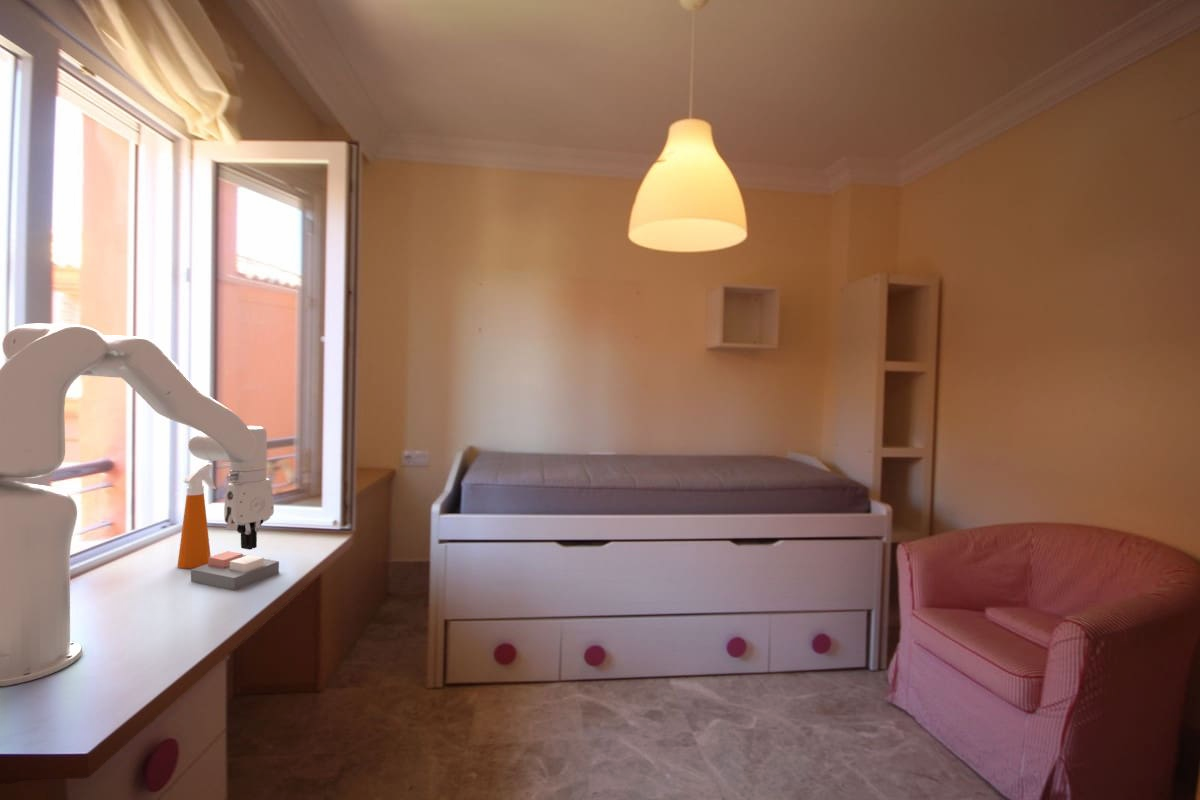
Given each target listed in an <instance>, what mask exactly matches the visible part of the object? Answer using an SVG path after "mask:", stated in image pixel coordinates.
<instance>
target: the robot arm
mask: <svg viewBox="0 0 1200 800" xmlns="http://www.w3.org/2000/svg"><path fill="white" fill-rule="evenodd" d="M1 349H2V351H3V352H2V353H3V354H4V355H5V357H6V358H7V359H8V360H7V361H6V362H5V363H4V364H3V366H2V367H0V687H5V686H12V685H18V684H21V683H27V682H31V681H34V680H37V679H41V678H43V677H47V676H49V675H52V674H54V673H56V672H59V671H60V670H63V669H64V668H67V667H69V666H71V665H72V664H73V663H75V662H76V661H77V660H79V659H80V658H81V656H82V655H83V645H82V644H81V643H78V642H76V641H71V545H72V539H73V534H74V531H75V527H76V525H77V524H76V523H77V518H78V508H77V505H76V502H75V501H74V499H73V498H72V496H71V495H69V494H68V493H67V492H65V491H63V490H61V489H59V488H57V487H53V486H49V485H43V484H35V483H29V479H35V478H41V477H45V476H48V475H50V474H52V473H53V472H55V471H57V470H58V469H60V466H61V465H62V464H63V462H64V460H65V456H66V428H65V427H66V425H65V424H66V423H65V408H66V407H65V406H66V396H67V393H68V391H69V389H70V387H71V386H72V384H73V383H74V382H75V380H76V379H78V378H79V377H80V376H87V377H89V376H91V377H104V378H106V377H107V378H119V379H122V380H123V381H125V382H126V383H127V384H128V385H129V386H130V387H131V388H132V389H133V390H134V391H135V392H136V393H137V394H138V395H139V396H140V397H141V398H142V399H143V400H144V401H145V403H146V404H148V405H149V406H150V407H151V408H152V409H153V410H154V411H155V412H156V413H157V414H159V415H161V416H162V417H165V418H167V419H169V420H171V421H174V422H176V423H179V424H182V425H185V426H187V427H190V428H193V429H195V430H197V432H195V433H193V434H192V436H190V439H189V441H188V444H187V445H188V450H189V452H190V454H192V455H193V456H194V457H195V458H198V459H201V460H204V461H211V462H221V463H229V468H230V469H229V475H227V476H226V481H228V482H229V483H227V487H226V491H225V492H226V493H225V499H224V506H223V507H224V510H223V511H224V512H223V516H224V522H225V523H226V527H225V529H226V530H227V531H236V532H237V533H238V534H240V547H241V549H243V550H244V549H245V550H253V549H256V548H257V547H258V546H257V545H258V543H257V542H258V540H257V539H258V536H257V535H258V533H257V532H259V531H260V527H261V526H262V524H263V523H265V522H266V521H268V520H269V519H270V517H272V516H273V515H274V512H275V504H274V494H273V487H272V483H271V480H270V478H268V476H267V472H268V471H267V469H268V468H267V467H268V466H267V465H268V463H267V458H268V457H267V456H268V455H267V454H268V453H267V452H268V450H267V449H268V446H267V441H268V439H267V438H268V437H267V430H266V428H265V427H263V426H260V425H259V426H258V425H257V426H256V425H247V424H246V423H245V422H244V421H243V419H241V417H240V416H238V415H237V413H235V412H233V410H231V409H230V408H228V407H226V406H225V405H223V404H222V403H220V402H219V401H218V400H215V399H214V398H212V397H211V396H209V395H208V394H207V393H205V392H203V391H201V390H200V389H199V388H198V387H197V386H195V384H194V383H193V382H192V381H191V380H190V379H189V377H188V376H186V373H184V372H183V371H182V369H181V368H180V367H179V366H178V364H177V363H176V362H175V361H174V360H173V359H172V358H171V357H170V355H168V353H166V351H165V350H164V349H163V348H162V347H161V346H160V345H159V344H157V342H156V341H154V340H151V339H149V338H146V337H142V336H133V335H132V336H131V335H130V336H126V335H105V334H102V333H101V332H100V331H99V330H96V329H94V328H92V327H89V326H85V325H81V324H70V323H27V324H23V325H18V326H16V327H14V328H12V329H10V330H9V331H8V332H7V333H6V334H5V335H4V337H3V339H2V342H1Z"/></svg>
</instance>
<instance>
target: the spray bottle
mask: <svg viewBox="0 0 1200 800" xmlns="http://www.w3.org/2000/svg"><path fill="white" fill-rule="evenodd" d="M213 466H214V464H213V463H212V462H209V463H203V464H201V465H200V466H199V467H197V468H196V469H194V470H193V471H192V472H190V473H189V474H188V475H187V476H186V477H185V478H184V479H183V482H184V483H185V484H188V485H187V487H186V498H185V504H184V513H183V519H182V528H181V535H180V542H179V543H180V544H179V550H178V551H179V552H178V557H177V558H178V559H177V568H178V569H179V568H180V569H184V570H185V569H187V570H188V569H189V570H190V569H194V568H197V567H200V566H203V565H206V564H209V557H211V548H210V537H209V530H208V521H207V520H208V519H207V511H206V510H207V509H206V503H205V502H206V499H205V492H204V491H205V490H204V489H205V488H204V487H205V486H204V485H203V482H204V483H205V484H206V485H207V486H208V487H209V488H211V489H214V490H217V487H216V486H215V484H214V483H213V481H212V479H211V476H210V473H211V469H212V468H213Z"/></svg>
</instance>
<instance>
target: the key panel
mask: <svg viewBox="0 0 1200 800" xmlns="http://www.w3.org/2000/svg"><path fill="white" fill-rule="evenodd" d="M247 555H248V554H247ZM247 555H246V554H243V557H244V556H247ZM279 568H280V561H278V560H274V559H268V558H264V566H262V567H259V568H257V569H254V570H251V571H249V572H246V573H243V572H238V571H233V570H230V567H227V568H224V569H222V568H217V567H212V566H209V563H208V564H206V565H203V566H200V567H197V568H190V582H192V583H197V584H201V585H207V586H211V587H216V588H221V589H225V590H230V591H237V590H239V589H242V588H244V587H246V586H249V585H251V584H254V583H256V582H259V581H261V580H264V579H266V578H269V577H272V576H275V575H276V574H279V573H280V572H279V571H280V569H279Z"/></svg>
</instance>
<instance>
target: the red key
mask: <svg viewBox="0 0 1200 800" xmlns="http://www.w3.org/2000/svg"><path fill="white" fill-rule="evenodd" d="M243 555H244V554H243V553H241V552H240V553H239V552H233V551H229V550H228V551H224V552H222V553H218V554H215V555H212V556H211V557H209V563H208V564H209V566H212V567H217V568H222V569H224V568H227V567H230V561H232V560H235V559H238V558H241V557H243Z"/></svg>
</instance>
